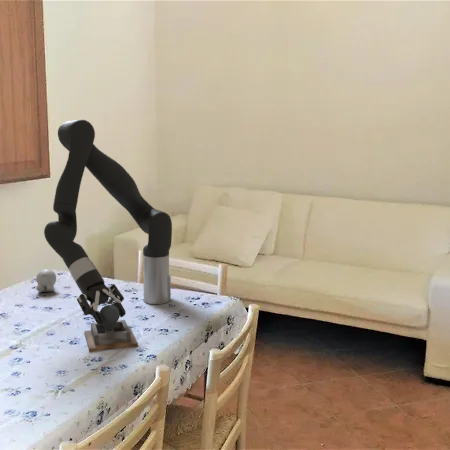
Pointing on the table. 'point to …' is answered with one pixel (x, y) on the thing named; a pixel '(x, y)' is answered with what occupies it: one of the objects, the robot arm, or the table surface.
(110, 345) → the socket stand
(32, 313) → the table surface
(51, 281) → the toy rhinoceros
